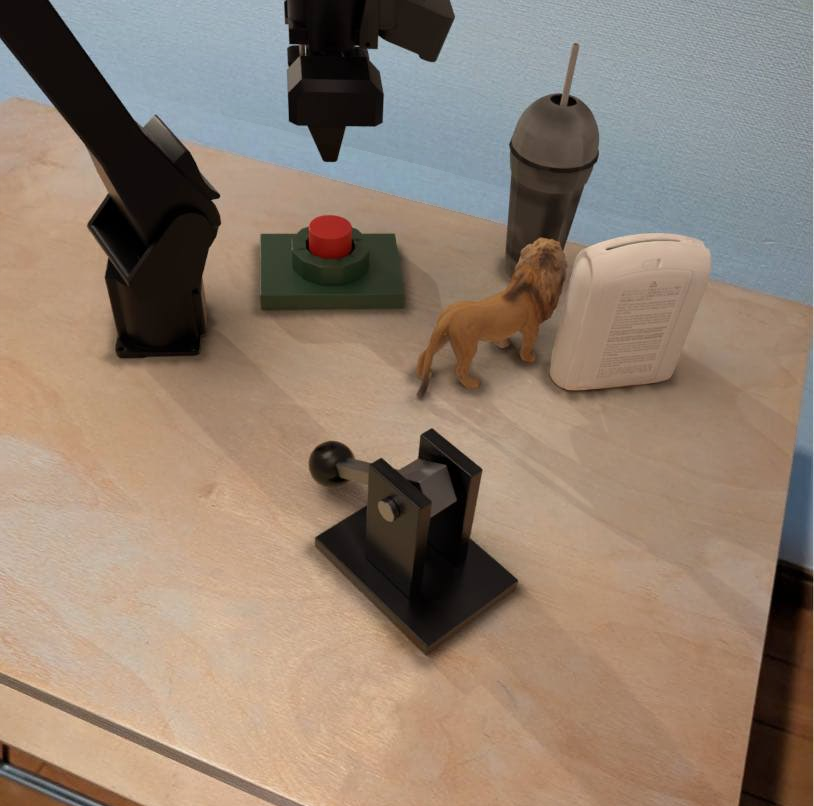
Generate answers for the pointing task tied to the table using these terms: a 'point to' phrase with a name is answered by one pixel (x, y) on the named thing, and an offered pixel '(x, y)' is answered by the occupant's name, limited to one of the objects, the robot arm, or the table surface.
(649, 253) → the photo printer
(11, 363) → the table surface
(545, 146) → the beverage cup
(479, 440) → the table surface
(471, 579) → the bracket
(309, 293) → the control block
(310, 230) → the button
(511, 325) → the lion figurine
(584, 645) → the table surface
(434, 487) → the lever
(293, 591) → the table surface
